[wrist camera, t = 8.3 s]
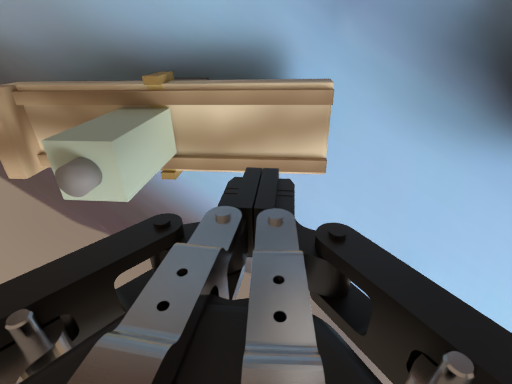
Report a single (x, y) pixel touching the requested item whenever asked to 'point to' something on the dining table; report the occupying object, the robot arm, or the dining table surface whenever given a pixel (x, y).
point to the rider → (111, 154)
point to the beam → (179, 120)
